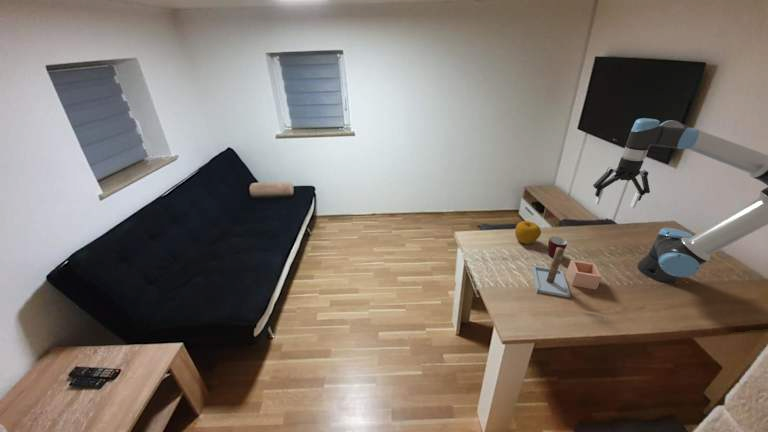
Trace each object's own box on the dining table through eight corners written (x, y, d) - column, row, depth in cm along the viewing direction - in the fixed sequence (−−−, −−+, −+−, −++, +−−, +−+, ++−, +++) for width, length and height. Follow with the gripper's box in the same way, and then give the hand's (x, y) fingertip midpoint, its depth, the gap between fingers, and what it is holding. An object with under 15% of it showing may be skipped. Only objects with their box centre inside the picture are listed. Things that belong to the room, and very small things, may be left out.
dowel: (552, 279, 140) (563, 247, 131) (554, 284, 137) (565, 251, 129) (545, 278, 141) (555, 246, 132) (546, 282, 138) (557, 250, 130)
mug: (568, 263, 152) (573, 247, 147) (552, 264, 152) (557, 248, 147) (556, 251, 161) (561, 236, 156) (541, 252, 161) (546, 236, 156)
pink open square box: (589, 277, 143) (594, 263, 139) (595, 290, 135) (601, 276, 131) (566, 273, 146) (570, 259, 142) (570, 286, 137) (576, 272, 133)
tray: (531, 268, 149) (532, 265, 148) (560, 273, 145) (562, 269, 144) (536, 293, 134) (537, 289, 133) (569, 299, 130) (570, 295, 129)
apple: (519, 232, 179) (523, 215, 173) (541, 241, 170) (546, 224, 165) (508, 240, 171) (512, 223, 166) (531, 250, 163) (536, 232, 157)
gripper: (664, 158, 123) (643, 204, 133) (595, 153, 129) (580, 198, 139) (674, 163, 116) (651, 212, 126) (600, 158, 123) (584, 205, 133)
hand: (614, 205), depth 133 cm, fingers open, 13 cm apart
